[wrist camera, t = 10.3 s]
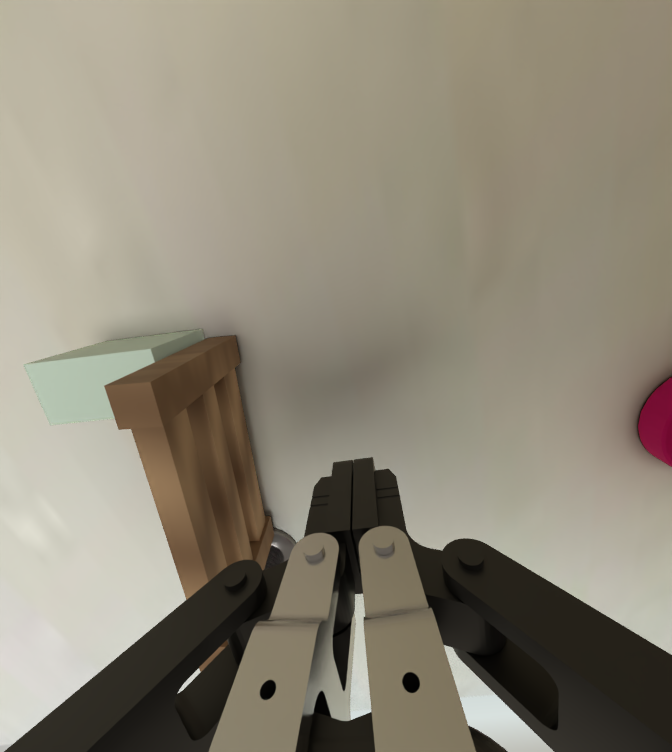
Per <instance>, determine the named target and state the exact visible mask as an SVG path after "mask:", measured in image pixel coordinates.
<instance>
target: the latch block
mask: <svg viewBox="0 0 672 752" xmlns="http://www.w3.org/2000/svg"><path fill="white" fill-rule="evenodd" d="M204 339H205V338H204V334H203V330H202V329H198V330H190V331H182V332H174V333H166V334H159V335H151V336H143V337H135V338H128V339H120V340H112V341H105V342H101V343H98V344H94V345H91V346H87V347H84V348H80V349H77V350H73V351H70V352H66V353H63V354H59V355H55V356H52V357H48V358H45V359H41V360H38V361H34V362H31V363H27V364H24V367H25V370H26V372H27V374H28V376H29V379H30V381H31V383H32V385H33V388H34V390H35V392H36V394H37V397H38V399H39V401H40V403H41V406H42V408H43V410H44V413H45V415H46V417H47V419H48V422H49V424H50V425H58V424H68V423H77V422H87V421H96V420H105V419H115V417H114V414H113V411H112V408H111V405H110V402H109V399H108V396H107V393H106V390H105V387H104V386H105V385H107V384H109V383H111V382H113V381H116V380H118V379H120V378H122V377H124V376H126V375H129V374H131V373H133V372H135V371H137V370H139V369H142V368H144V367H146V366H148V365H150V364H152V363H155V362H157V361H159V360H161V359H163V358H165V357H168V356H170V355H172V354H174V353H176V352H178V351H181V350H183V349H185V348H187V347H189V346H191V345H194V344H196V343H198V342H200V341H202V340H204Z"/></svg>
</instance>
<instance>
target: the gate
mask: <svg viewBox="0 0 672 752" xmlns="http://www.w3.org/2000/svg"><path fill="white" fill-rule="evenodd" d="M240 363H241V362H240V357H239V352H238V347H237V342H236V336H224V337H213V338H207V339H204V340H202V341H200V342H198V343H196V344H194V345H191V346H189V347H187V348H185V349H183V350H181V351H178V352H176V353H174V354H172V355H170V356H168V357H165V358H163V359H161V360H159V361H157V362H155V363H152V364H150V365H148V366H146V367H144V368H142V369H139V370H137V371H135V372H133V373H131V374H129V375H126V376H124V377H122V378H120V379H118V380H116V381H113V382H111V383H109V384H107V385H105V386H104V387H105V390H106V393H107V396H108V399H109V402H110V405H111V408H112V411H113V414H114V417H115V420H116V423H117V426H118V429H119V430H120V429H131V430H132V433H133V436H134V439H135V442H136V445H137V448H138V452H139V455H140V458H141V461H142V464H143V467H144V470H145V473H146V476H147V479H148V482H149V485H150V489H151V492H152V495H153V498H154V501H155V504H156V507H157V510H158V513H159V516H160V519H161V522H162V526H163V529H164V532H165V535H166V538H167V541H168V544H169V547H170V550H171V553H172V556H173V560H174V563H175V566H176V569H177V572H178V575H179V578H180V581H181V584H182V587H183V590H184V593H185V597H186V600H187V599H188V598H190V597H191V596H192V595H193V594H194V593H196V592H197V591H198V590H199V589H200V588H202V587H203V586H204V585H205V584H206V583H208V582H209V581H210V580H211V579H212V578H214V577H215V576H216V575H217V574H218V573H220V572H221V571H222V570H223V569H225V568H226V567H227V566H229V565H231V564H232V563H235V562H237V561H240V560H253V561H256V562H257V563H258V564H259V565H260V566H261V568H262V571H263V570H264V568H265V565H266V561H267V558H268V554H269V551H270V548H271V544H272V541H273V537H274V531H273V526H272V521H271V516H265V515H264V510H263V505H262V500H261V495H260V490H259V485H258V480H257V475H256V470H255V466H254V461H253V456H252V451H251V446H250V441H249V436H248V431H247V426H246V421H245V416H244V411H243V406H242V401H241V396H240V391H239V386H238V382H237V377H236V372H235V367H236V366H237V365H239V364H240ZM227 645H228V641H227V640H226V641H225V642H224V643H223V644H222V645H221V646H220V647H219V648H218V649H217V650H216V651H215V652H214V653H213V654H212V655H211V656H210V657H209V658H208V659H207V660H206V661H205V662H204V663H203V664H202V665H201V666H200V667H199V669H200V672H201V671H203V670H204V669H205V667H206V666H207V665H208V664H209V663H210V662H211V661H212V660H213V659H214V658H215V657H216V656H217V655H218V654H219V653H220V652H221V651H222V650H223V649H224V648H225V647H226V646H227Z"/></svg>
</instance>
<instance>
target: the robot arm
mask: <svg viewBox="0 0 672 752" xmlns="http://www.w3.org/2000/svg"><path fill="white" fill-rule="evenodd" d="M361 593H363V597H364V607H365V617H364V633H365V644H366V655H367V666H368V677H369V688H370V699H371V710H372V712H370V713H368V714H366V715H363V716H361V717H358V718H355V719H353V720H351V718H350V692H351V679H352V665H353V652H354V639H355V626H356V619H355V614H354V610H355V594H361ZM226 640H227V641H228V645H227V646H226V647H225V648H224V649H223V650H222V651H221V652H220V653H219V654H218V655H217V656H216V657H215V658H214V659H213V660H212V661H211V662H210V663H209V664H208V665H207V666H206V667H205V669H204V670H203V671H202V672H201V673H200V674H199V675H198V676H197V677H196V678H195V679H194V680H193V681H192V682H191V683H190V684H189V685H188V686H187V687H186V688H185V689H184V690H183V691H181V692H180V693H178V691H179V689H180V688H181V686H182V685H183V684H184V682H185V681H186V680H187V679H188V678H189V677H190V676H191V675H192V674H193V673H194V672H195V671H196V670H197V669H198V668H199V667H200V666H201V665H202V664H203V663H204V662H205V661H206V660H207V659H208V658H209V657H210V656H211V655H212V654H213V653H214V652H215V651H216V650H217V649H218V648H219V647H220V646H221V645H222V644H223V643H224V642H225V641H226ZM444 645H446V646H450V647H453V649H454V651H455V653H456V654H457V656H458V657H459V658H460V659H461V660H462V661H463V662H464V663H465V664H466V665H467V666H468V667H469V668H470V669H471V670H472V671H473V672H474V673H475V674H476V675H477V676H478V677H479V678H480V679H481V680H482V681H483V682H484V683H485V684H486V685H487V686H488V687H489V688H490V689H491V690H492V691H493V692H494V693H495V694H496V695H497V696H498V697H499V698H500V699H501V700H502V701H503V702H504V703H505V704H506V705H507V706H509V708H510V709H511V710H513V712H514V713H516V714H517V715H518V716H519V717H520V718H521V719H522V720H523V721H524V722H525V723H526V724H527V725H528V726H529V727H530V728H531V729H532V730H533V731H534V732H535V733H536V734H537V735H538V736H539V737H540V738H541V739H542V740H543V741H544V742H545V743H546V744H547V745H548V746H549V747H550V748H551V749H552V750H553V751H554V752H672V655H671V654H669V653H667V652H666V651H664V650H662V649H661V648H659V647H657V646H656V645H654V644H652V643H651V642H649V641H647V640H646V639H644V638H642V637H641V636H639V635H637V634H636V633H634V632H632V631H631V630H629V629H627V628H626V627H624V626H622V625H621V624H619V623H617V622H616V621H614V620H612V619H611V618H609V617H607V616H606V615H604V614H602V613H601V612H599V611H597V610H596V609H594V608H592V607H591V606H589V605H587V604H586V603H584V602H582V601H581V600H579V599H577V598H576V597H574V596H572V595H571V594H569V593H567V592H566V591H564V590H562V589H561V588H559V587H557V586H556V585H554V584H552V583H551V582H549V581H547V580H546V579H544V578H542V577H541V576H539V575H537V574H536V573H534V572H532V571H531V570H529V569H527V568H526V567H524V566H522V565H521V564H519V563H517V562H516V561H514V560H512V559H511V558H509V557H507V556H506V555H504V554H502V553H501V552H499V551H497V550H496V549H494V548H492V547H491V546H489V545H487V544H485V543H483V542H481V541H478V540H474V539H458V540H454V541H452V542H450V543H449V544H447V545H446V546H445V548H444V549H443V551H441V550H435V549H430V548H426V547H424V546H421V545H419V544H418V543H416V542H415V541H414V540H413V539H412V538H411V537H410V536H409V535H408V533H407V530H406V526H405V521H404V516H403V511H402V505H401V500H400V495H399V490H398V485H397V480H396V476H395V475H394V474H393V473H392V472H391V471H390V470H389V469H384V470H376V471H375V466H374V461H373V457H371V458H363V459H355V460H354V463H353V460H348V461H341V462H334V463H333V469H332V476H330V477H322V478H321V479H320V480H319V481H318V483H317V484H316V485H315V487H314V491H313V496H312V500H311V507H310V510H309V515H308V520H307V525H306V530H305V535H304V538H302V539H301V540H300V541H299V542H298V543H297V544H296V545H295V546H294V548H293V549H292V552H291V554H290V557H289V559H288V560H286V561H285V562H283V563H280V564H278V565H276V566H273V567H270V568H268V569H265V570H263V571H262V568H261V566H260V565H259V564H258V563H257V562H256V561H253V560H240V561H237V562H235V563H232V564H231V565H229V566H227V567H226V568H225V569H223V570H222V571H221V572H220V573H218V574H217V575H216V576H215V577H214V578H212V579H211V580H210V581H209V582H208V583H206V584H205V585H204V586H203V587H202V588H200V589H199V590H198V591H197V592H196V593H194V594H193V595H192V596H191V597H190V598H188V599H187V600H186V601H185V602H184V603H182V604H181V605H180V606H179V607H178V608H176V609H175V610H174V611H173V612H171V613H170V614H169V615H168V616H167V617H165V618H164V619H163V620H162V621H161V622H159V623H158V624H157V625H156V626H155V627H153V628H152V629H151V630H150V631H149V632H147V633H146V634H145V635H144V636H143V637H141V638H140V639H139V640H138V641H137V642H135V643H134V644H133V645H132V646H131V647H129V648H128V649H127V650H126V651H125V652H123V653H122V654H121V655H120V656H119V657H117V658H116V659H115V660H114V661H113V662H111V663H110V664H109V665H108V666H107V667H105V668H104V669H103V670H102V671H101V672H99V673H98V674H97V675H96V676H95V677H93V678H92V679H91V680H90V681H88V682H87V683H86V684H85V685H84V686H82V687H81V688H80V689H79V690H78V691H76V692H75V693H74V694H73V695H72V696H70V697H69V698H68V699H67V700H66V701H64V702H63V703H62V704H61V705H60V706H58V707H57V708H56V709H55V710H54V711H52V712H51V713H50V714H49V715H48V716H46V717H45V718H44V719H43V720H42V721H40V722H39V723H38V724H37V725H36V726H34V727H33V728H32V729H31V730H30V731H28V732H27V733H26V734H25V735H24V736H22V737H21V738H20V739H19V740H18V741H16V742H15V743H14V744H13V745H12V746H10V747H9V748H8V749H7V750H6V751H4V752H507V751H506V750H505V749H504V748H503V747H501V746H500V745H499V744H497V743H496V742H495V741H494V740H492V739H491V738H490V737H488V736H486V735H484V734H483V733H481V732H480V731H478V730H476V729H474V728H472V727H470V726H468V724H467V720H466V718H465V714H464V711H463V707H462V704H461V701H460V697H459V694H458V691H457V688H456V684H455V681H454V678H453V675H452V671H451V668H450V665H449V662H448V658H447V655H446V652H445V648H444ZM177 693H178V694H177Z"/></svg>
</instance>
